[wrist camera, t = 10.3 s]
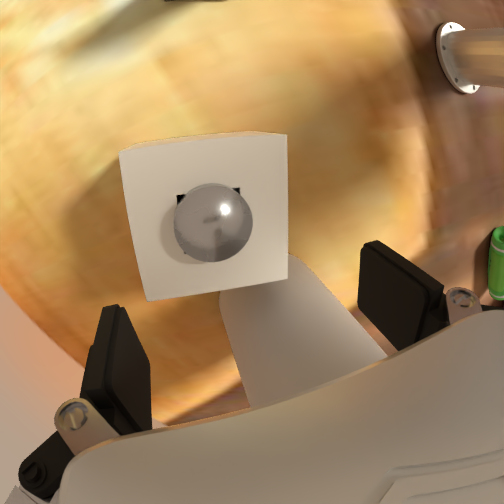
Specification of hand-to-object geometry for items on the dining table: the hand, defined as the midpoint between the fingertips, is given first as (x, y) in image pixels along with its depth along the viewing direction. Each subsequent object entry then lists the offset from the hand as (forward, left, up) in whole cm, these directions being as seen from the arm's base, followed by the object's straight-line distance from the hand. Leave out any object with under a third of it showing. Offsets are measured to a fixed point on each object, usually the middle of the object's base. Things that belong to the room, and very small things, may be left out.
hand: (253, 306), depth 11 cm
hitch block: (0, +1, -22) cm, 22 cm away
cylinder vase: (-7, +15, -22) cm, 28 cm away
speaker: (-63, +20, -22) cm, 70 cm away
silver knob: (0, +1, -21) cm, 21 cm away
